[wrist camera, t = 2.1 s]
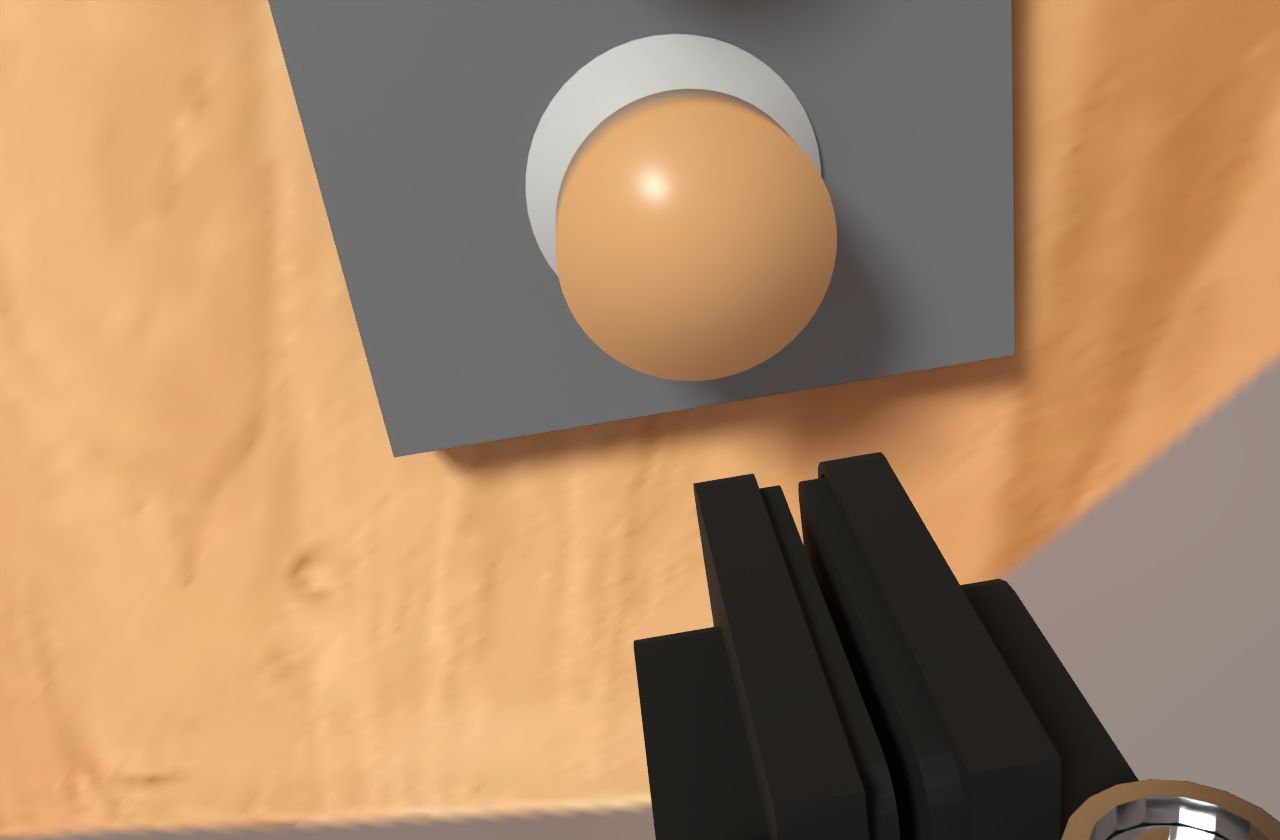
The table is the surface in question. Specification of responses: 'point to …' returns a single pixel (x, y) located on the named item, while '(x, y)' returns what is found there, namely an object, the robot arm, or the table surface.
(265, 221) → the table surface
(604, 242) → the terracotta button
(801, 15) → the button board
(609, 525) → the table surface
